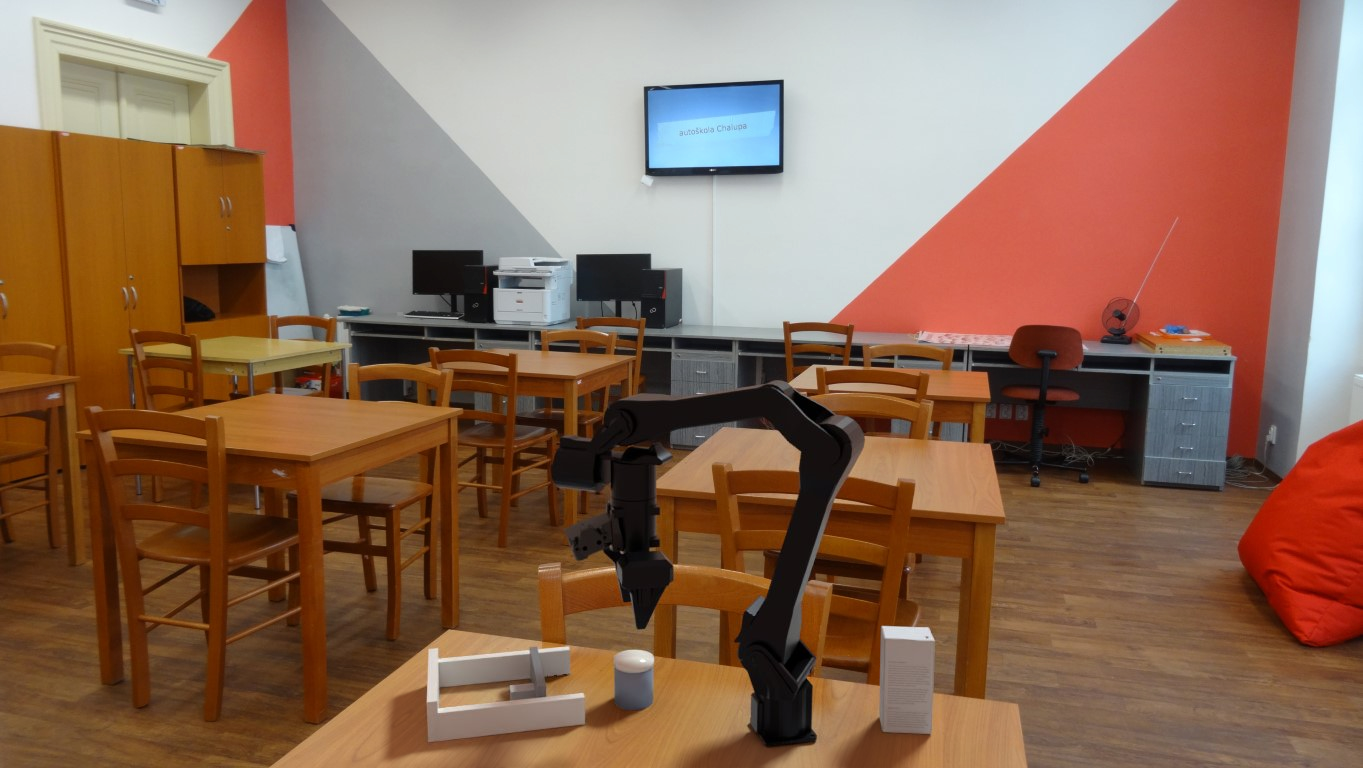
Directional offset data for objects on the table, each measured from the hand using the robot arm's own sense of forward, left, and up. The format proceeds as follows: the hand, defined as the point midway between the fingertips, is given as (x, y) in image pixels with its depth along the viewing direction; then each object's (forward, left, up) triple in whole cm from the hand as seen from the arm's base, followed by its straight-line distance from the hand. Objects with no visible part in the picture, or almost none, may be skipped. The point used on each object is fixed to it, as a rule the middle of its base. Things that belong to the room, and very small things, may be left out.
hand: (633, 614), depth 121 cm
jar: (0, 0, -12) cm, 12 cm away
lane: (+16, -3, -12) cm, 20 cm away
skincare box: (-31, +14, -12) cm, 36 cm away
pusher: (+13, -3, -11) cm, 18 cm away
